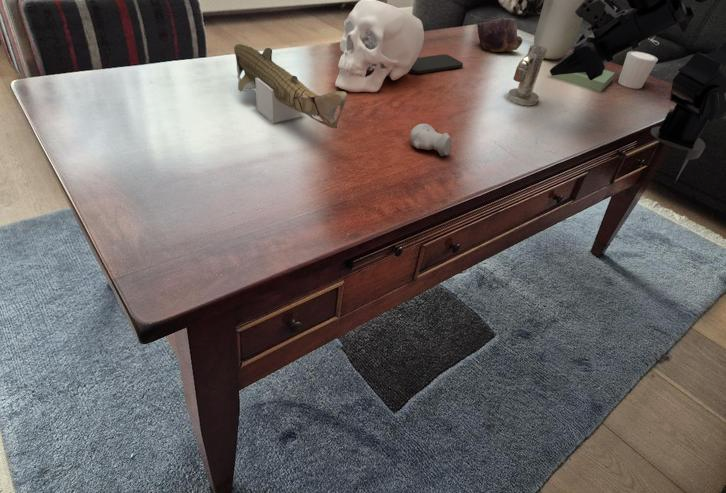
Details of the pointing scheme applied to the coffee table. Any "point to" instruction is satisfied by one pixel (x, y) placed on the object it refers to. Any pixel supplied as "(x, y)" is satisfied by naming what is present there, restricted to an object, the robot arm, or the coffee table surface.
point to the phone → (435, 64)
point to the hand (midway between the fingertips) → (550, 72)
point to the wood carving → (283, 90)
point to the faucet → (527, 87)
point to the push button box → (588, 80)
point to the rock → (499, 34)
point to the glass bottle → (558, 27)
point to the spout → (528, 62)
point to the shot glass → (636, 69)
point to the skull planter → (377, 45)
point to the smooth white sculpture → (430, 139)
